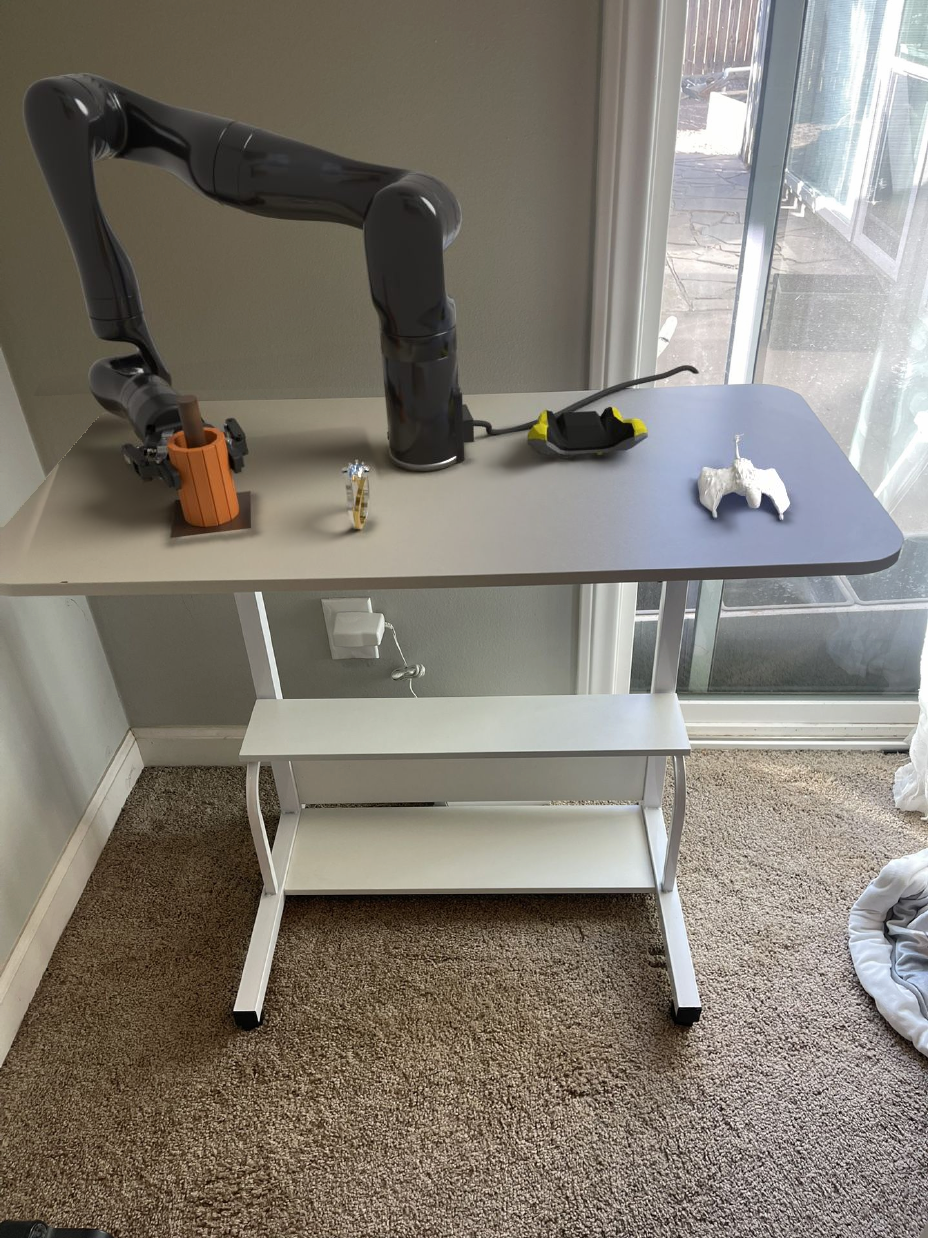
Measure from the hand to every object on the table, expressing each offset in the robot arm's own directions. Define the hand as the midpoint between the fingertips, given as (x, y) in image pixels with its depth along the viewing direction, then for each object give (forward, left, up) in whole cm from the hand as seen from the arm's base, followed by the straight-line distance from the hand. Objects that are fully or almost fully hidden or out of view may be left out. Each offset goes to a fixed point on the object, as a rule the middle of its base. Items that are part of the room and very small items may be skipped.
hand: (208, 473), depth 102 cm
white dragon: (-61, +7, -7) cm, 62 cm away
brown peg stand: (+1, -2, -7) cm, 7 cm away
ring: (-16, +4, -7) cm, 18 cm away
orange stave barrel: (+1, -2, -6) cm, 7 cm away
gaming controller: (-46, -8, -7) cm, 47 cm away
